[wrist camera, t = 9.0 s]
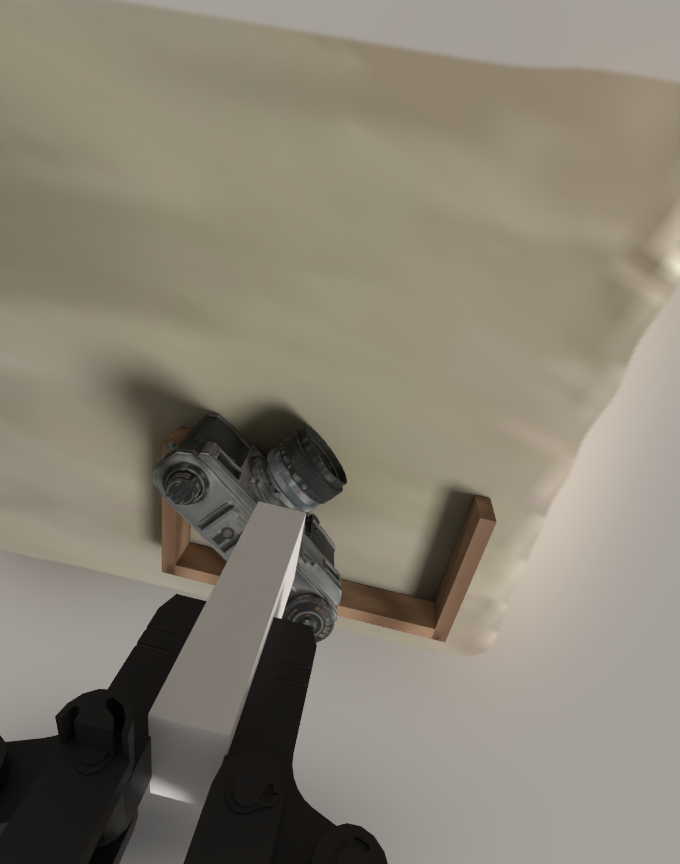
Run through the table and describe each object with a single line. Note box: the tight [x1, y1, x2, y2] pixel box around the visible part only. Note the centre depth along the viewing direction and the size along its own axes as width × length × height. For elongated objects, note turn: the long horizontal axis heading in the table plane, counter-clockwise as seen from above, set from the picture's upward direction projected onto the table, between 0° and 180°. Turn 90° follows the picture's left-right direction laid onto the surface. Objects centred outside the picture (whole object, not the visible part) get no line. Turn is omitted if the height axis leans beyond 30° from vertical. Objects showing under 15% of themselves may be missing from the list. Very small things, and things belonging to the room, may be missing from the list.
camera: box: [153, 414, 347, 643], centre depth 33 cm, size 18×9×10 cm, turn 38°
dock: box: [161, 427, 496, 642], centre depth 38 cm, size 25×13×4 cm, turn 80°
